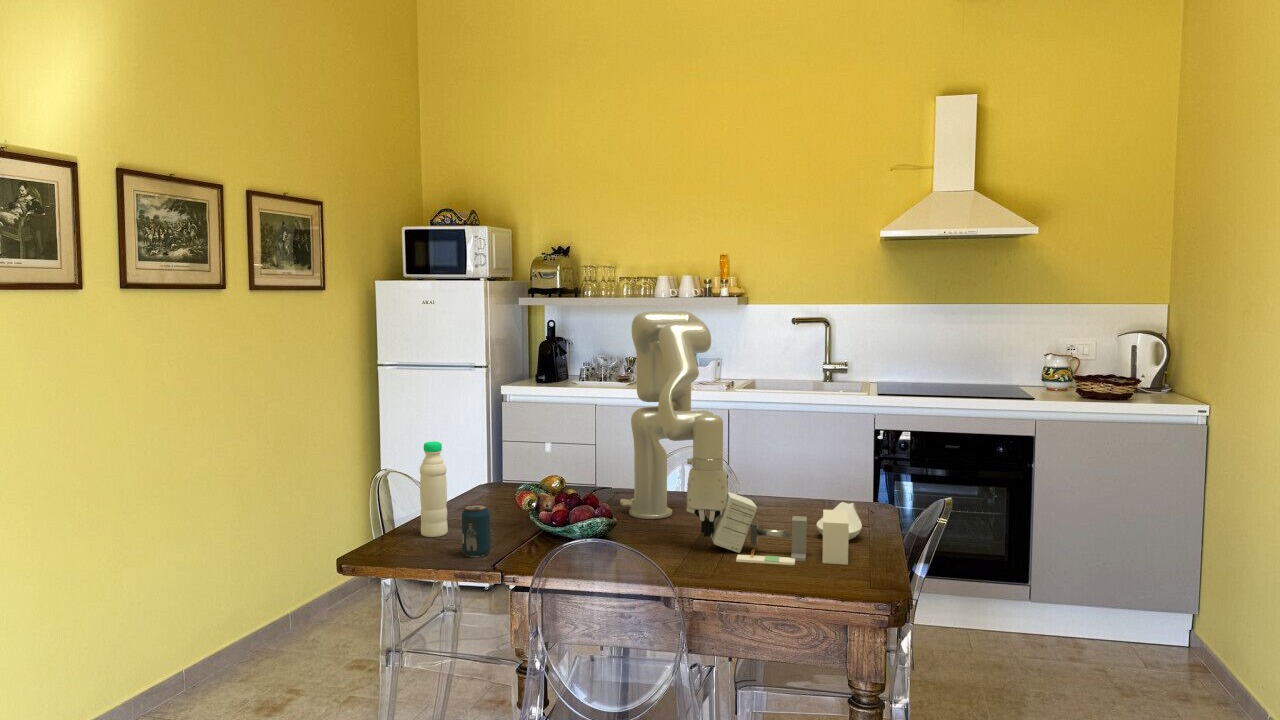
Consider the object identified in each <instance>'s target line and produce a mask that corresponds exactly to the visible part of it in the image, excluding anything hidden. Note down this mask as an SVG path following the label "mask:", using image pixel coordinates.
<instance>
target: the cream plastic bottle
mask: <svg viewBox="0 0 1280 720" xmlns="http://www.w3.org/2000/svg"><path fill="white" fill-rule="evenodd" d="M442 449H443V446H442V442H440V441H435V440H433V441H427V442H424V443H423V451H424V452H423V453H424V454H425V456H424V458H423V460H422V463H421V465H420V467H419V474H420V478H419V479H420V481H419V496H420V507H421V508H420V521H421V522H420V534H421V535H422V536H423V537H426V538H438V537H443V536H445V535H447V533H448V530H449V529H448V528H449V527H448V520H447V519H448V508H447V505H448V504H447V502H448V486H447V485H448V484H447V466H446V464H445V461H444V459H443V458H442V456H441V452H442Z"/></svg>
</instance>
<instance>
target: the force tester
mask: <svg viewBox="0 0 1280 720" xmlns="http://www.w3.org/2000/svg"><path fill="white" fill-rule="evenodd" d="M822 511H823V513H822V518H823V535H822V564H830V565H831V564H832V565H849V540H848V538H849V521H848V511H844V510H833V509H822ZM807 519H808V517H807V516H803V515H802V516H801V515H800V516H799V515H792V519H791V520H792V521H791V556H790V557H788V556H787V557H785V556H776V555H754V556H751V554H737V556H736V559H735V562H736V563H751V564H754V563H755V564H770V565H784V566H785V565H786V566H795V565H796V562H807V561H806V560H807V549H808V547H807V546H808V544H807V543H808V542H807V540H808V539H807V538H808V537H807V536H808V534H807V533H808V532H807V531H808V520H807Z"/></svg>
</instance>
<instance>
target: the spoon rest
mask: <svg viewBox="0 0 1280 720" xmlns="http://www.w3.org/2000/svg"><path fill="white" fill-rule="evenodd" d="M832 510H844V511H848V521H849V538H848V541H850V540H852V539H854V538H856V537H857V536H858V535H859V534H860V533H861V531H862V528H863V526H862V521H861V519H860V517H859V514H858V511H857V507H856V505H855V503H854V502H851V503H848V502H844V501H842V502H840V503H839V504H838V505H836V506H835V508H833V509H832ZM816 527H817V530H818V531H819V533H820V534H821V535H822V536H823V517H821V518H820V519H819V520H818V521H817V522H816Z"/></svg>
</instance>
